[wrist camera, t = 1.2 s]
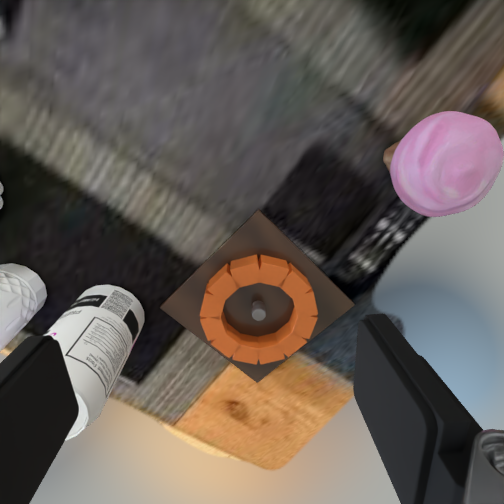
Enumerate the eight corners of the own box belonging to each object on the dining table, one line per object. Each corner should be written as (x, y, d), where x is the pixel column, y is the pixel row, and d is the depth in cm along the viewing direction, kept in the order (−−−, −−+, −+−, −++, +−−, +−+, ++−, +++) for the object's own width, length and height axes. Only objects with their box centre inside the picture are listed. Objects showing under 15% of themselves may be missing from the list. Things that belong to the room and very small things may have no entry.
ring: (258, 232, 36) (260, 239, 34) (334, 305, 40) (340, 315, 38) (180, 307, 39) (176, 318, 37) (257, 368, 43) (258, 381, 41)
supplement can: (141, 344, 42) (92, 453, 28) (76, 331, 41) (-10, 438, 27) (151, 290, 39) (101, 382, 25) (80, 275, 38) (-12, 362, 24)
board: (258, 208, 36) (260, 215, 33) (353, 301, 41) (360, 313, 38) (160, 304, 40) (155, 316, 37) (257, 378, 45) (258, 394, 42)
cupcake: (351, 153, 34) (393, 163, 25) (423, 94, 32) (498, 82, 23) (394, 215, 37) (446, 246, 27) (463, 164, 35) (545, 179, 26)
